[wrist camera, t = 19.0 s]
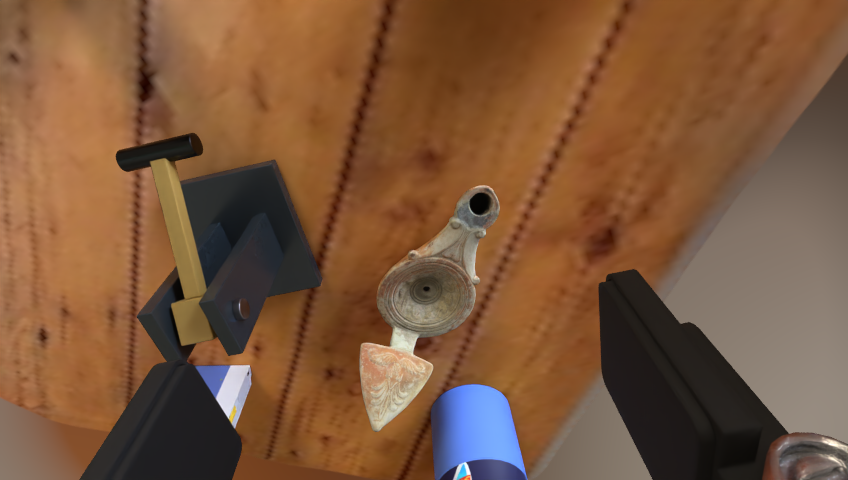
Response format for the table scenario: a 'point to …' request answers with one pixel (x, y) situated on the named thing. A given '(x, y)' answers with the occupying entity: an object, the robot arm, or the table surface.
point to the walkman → (228, 387)
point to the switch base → (235, 256)
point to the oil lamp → (424, 305)
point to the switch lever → (176, 226)
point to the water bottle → (475, 436)
